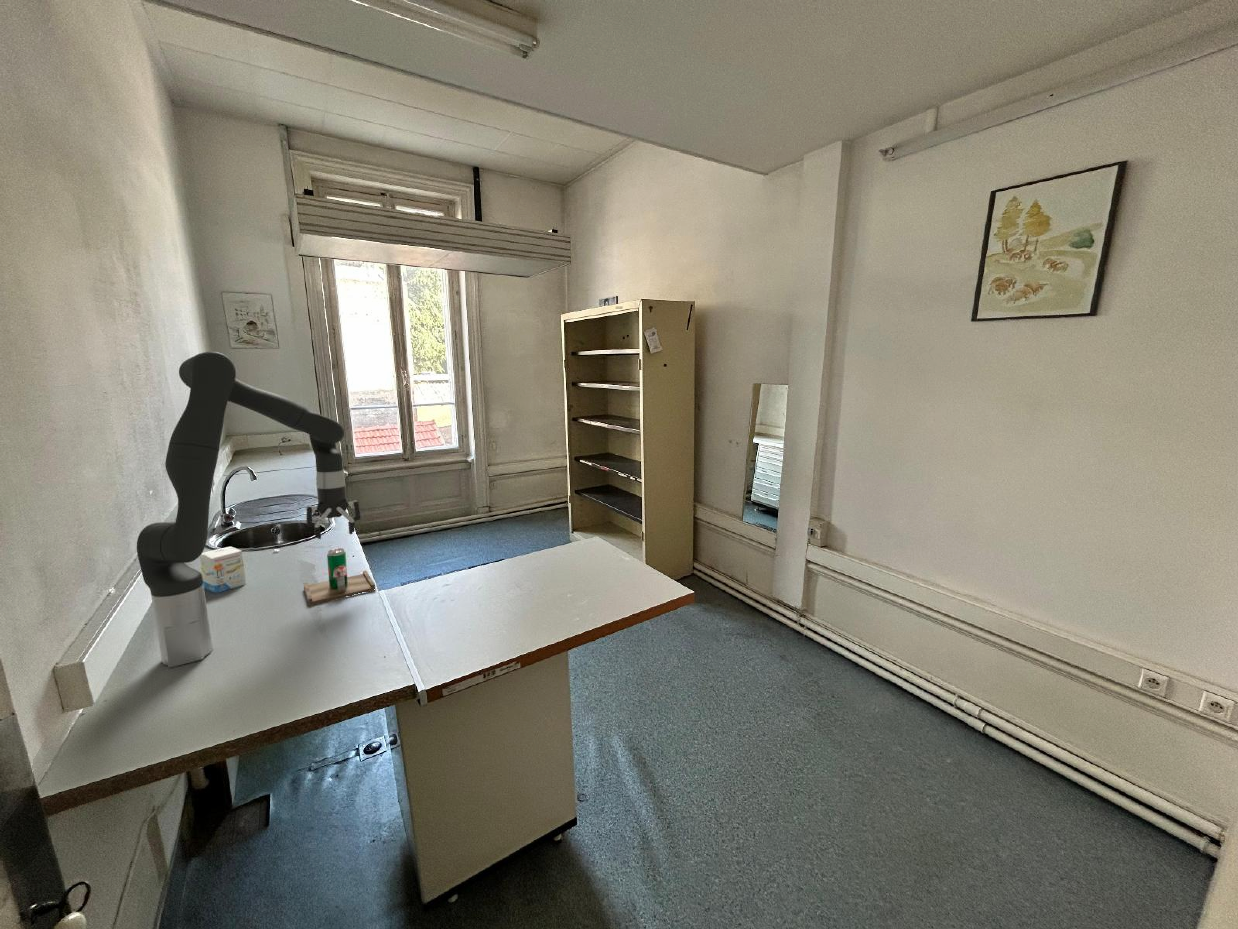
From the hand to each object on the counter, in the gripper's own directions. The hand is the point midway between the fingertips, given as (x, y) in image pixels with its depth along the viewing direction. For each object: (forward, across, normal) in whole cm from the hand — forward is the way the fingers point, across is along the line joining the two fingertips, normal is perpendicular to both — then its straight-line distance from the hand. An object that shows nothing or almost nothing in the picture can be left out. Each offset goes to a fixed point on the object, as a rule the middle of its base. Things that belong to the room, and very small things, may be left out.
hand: (335, 536), depth 150 cm
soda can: (+17, 0, +1) cm, 17 cm away
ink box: (+18, -29, +25) cm, 43 cm away
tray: (+18, 0, 0) cm, 18 cm away
